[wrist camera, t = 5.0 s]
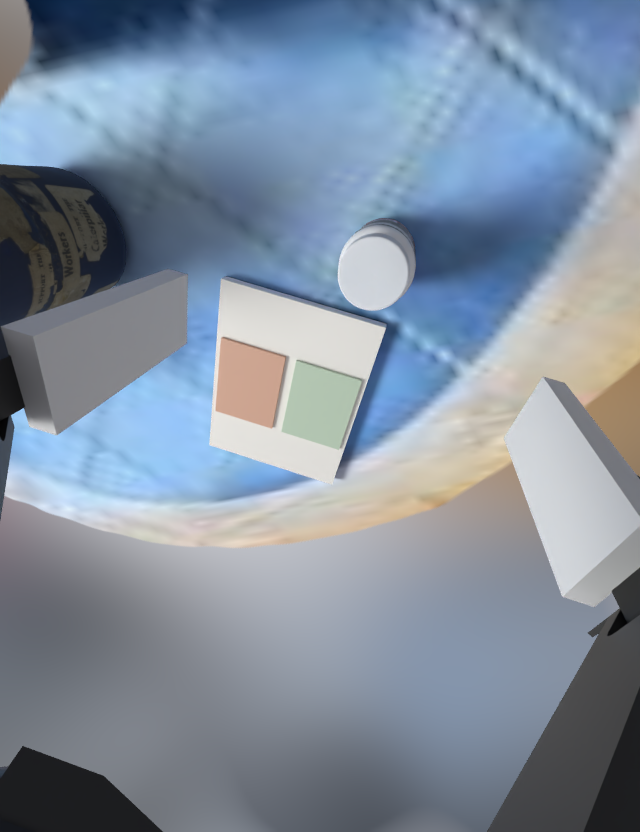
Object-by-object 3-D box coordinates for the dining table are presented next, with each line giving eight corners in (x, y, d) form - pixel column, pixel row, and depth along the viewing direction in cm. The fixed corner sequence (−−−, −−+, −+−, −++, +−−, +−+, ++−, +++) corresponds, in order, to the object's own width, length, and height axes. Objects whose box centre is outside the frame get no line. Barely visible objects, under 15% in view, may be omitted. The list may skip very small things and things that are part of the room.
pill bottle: (386, 298, 29) (377, 334, 22) (338, 260, 28) (315, 284, 21) (429, 246, 27) (435, 268, 20) (378, 202, 26) (366, 209, 19)
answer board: (226, 276, 31) (219, 279, 30) (386, 323, 30) (385, 329, 29) (213, 439, 41) (208, 446, 40) (333, 478, 40) (331, 486, 39)
